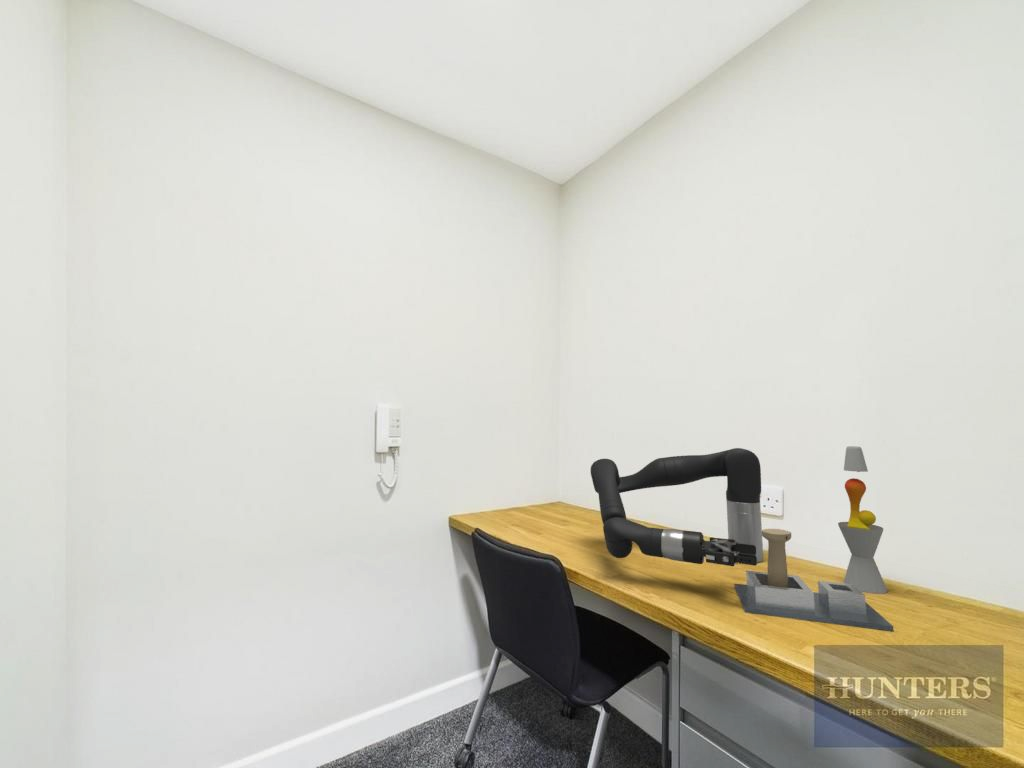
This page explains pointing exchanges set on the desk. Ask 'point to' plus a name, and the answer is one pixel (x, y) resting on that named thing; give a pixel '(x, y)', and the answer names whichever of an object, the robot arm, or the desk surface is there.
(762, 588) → the socket plate
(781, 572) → the handle
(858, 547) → the stacked pieces
